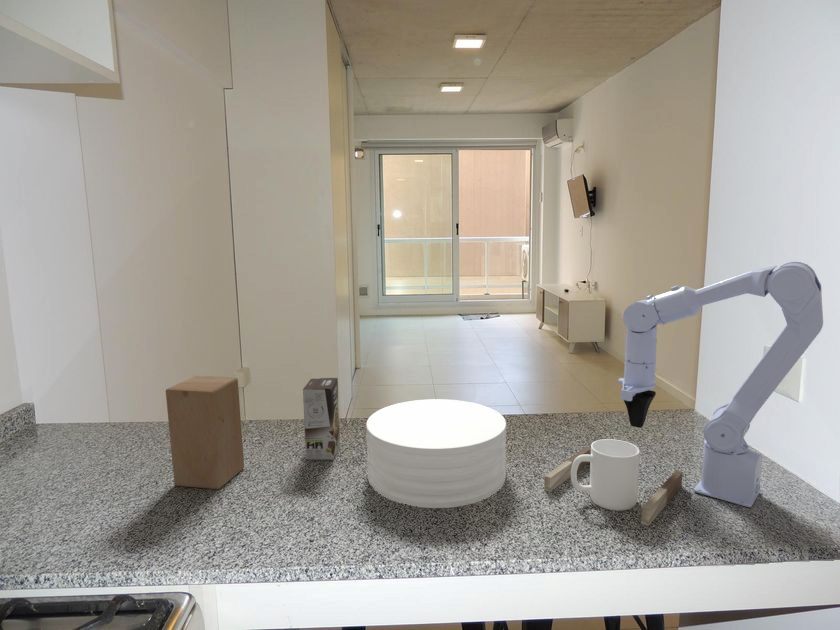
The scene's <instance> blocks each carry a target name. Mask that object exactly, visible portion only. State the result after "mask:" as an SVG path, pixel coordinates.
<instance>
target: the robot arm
mask: <svg viewBox="0 0 840 630" xmlns="http://www.w3.org/2000/svg"><path fill="white" fill-rule="evenodd" d="M777 267H778V265H773V266H768V267H763V268H757V269H753V270H749V271H747V272H744V273H741V274H739V275H736V276H732V277H730V278H727V279H724V280H721V281H718V282H715V283H712V284H710V285H706V286H704V287H701V288H698V289H695V288H692V287H690V286H687V285H683V286H680V285H679V284H677V285H674V286H671V287H670V290H669V291H667V292H666V291H665V292H663V293H660V294H657V295H654V294H649V295H647V296H646V297H645V298H646V299H642V300H638V301H635V302H633V303H631V304H630V305H628V306H627V307H626V308H625V310H624V311H623V314H622V320H623V323H624V325H625V327H626V330H625V331H626V332H625V333H626V334H625V348H624V369H623V377H619V378H618V379H617V384H621V385H622V388H621V389H620V398H619V399H620V400H621V401H623V402H624V405H625V407H626V410H627V414H628V419H629V424H630V427H635V428H640V429H641V428H642V427H643V426H644V424H645V421H646V418H647V415H648V410H649V408H650V406H651V404H652V402H653V400H654V398H655V396H656V395H657V392H656V391H654V389H656V379H657V378H656V361H657V343H658V341H657V340H658V339H657V333H658V332H657V331H658V325H662V326H664V325H666V324H670V323H674V322H677V321H681V320H683V319H687V318H690V317H693V316H694V317H695V316H696V315H698V313H700V312H699V311H700V310H701V308H702V307H703V306H706V305H709V304H713V303H717V302H721V301H723V300H724V301H725V300H728V299H732V298H734V297H738V296H742V295H746V294H749V295H753V296H759V297H762V298H765V297H766V296H767V295H768V294H769V295H770V296H771V297H772V298H773V300H774V301H775V302H776V303H777V304H778V305H779V307H780V308H781V311H782V314H783V317H784V319H785V322H786V326H785V327H784V328H782V329H783V330H781V332H780V334H779V335H778V336H777V337H776V338H775V340H774V342H773V343H772V344H771V346H770V347H769V348H768V349H767V351H766V352H765V354H764V355H763V356H762V358H761V359H760V360H759V361H758V363H757V364H756V365H755V367H754V368H753V370H751V372H750V374H749V375H748V376H747V378H746V379H745V381H744V382H743V383H742V384H741V386H740V387H739V388H738V390H737V391H736V392H735V394H734V395H732V398H730V400H729V401H728V402H727V403H726V404H724V405H722V406H719V407H718V408H717V409H715V411H714V412H713V414H712V416H711V418H710V420H708V422H707V423H705V425H704V427H703V437H704V439H703V448H702V449H703V450H702V451H703V453H702V464H701V465H702V466H701V478H700V481H699V482H698V483H697V484H696V486H695V487H694V488H693V492H694V493H697V494H701V495H704V496H708V497H711V498H714V499H719V500H722V501H725V502H729V503H733V504H736V505H739V506H743V507H747V508H752V506H753V505H754V503H755V502H756V500H757V498H758V496H759V494H760V491H761V490H760V488H761V474H762V465H763V464H762V463H763V456H762V454H761V453H758V452H755V451H753V450H751V449H749V445H748V444H747V441H746V440H745V436H746V434H747V433H748V432H749V429H750V426H751V423H752V421H753V419H754V418H755V416H756V415H757V413H758V412H759V411H760V410H761V408H762V407H763V405H764V404H765V403H766V401H767V400H768V399H769V398H770V397H771V395H772V394H773V393H774V391H775V390H776V389H777V387H778V386H779V385H780V384H781V382H782V381H783V380H784V379H785V378H786V376H788V374H789V372H790V371H791V369H793V367H794V366H795V365H796V363H797V362H798V361H799V360H800V359H801V357H802V356H803V354H804V353H805V352H806V350H807V349H808V348H809V347H810V345H811V344H812V343H813V341H814V340H815V339H816V338H817V336H818V335H819V334H820V333H821V331H822V329H823V327H824V314H823V298H822V297H823V296H822V292H823V291H822V284H821V282H820V281H819V278H818V276H817V273H816V272H815V270H814V269H813V267H811V266H810V265H809V264H807V263H804V262H801V261H790V262H789V261H788V262H786V263H784V264H782V265H780V266H779V267H778V268H777Z"/></svg>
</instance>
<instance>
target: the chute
mask: <svg viewBox="0 0 840 630" xmlns="http://www.w3.org/2000/svg"><path fill="white" fill-rule="evenodd" d="M583 454H589V455H591V446H590V447H589V446H585V447H583V449H580V451H578V452H577V453H575V454H573V456H571V457H569V458H567V460H565V461H564V462H562V463H561V464H560V465H558V466H557V467H555V468H554V469H553V470H551V471H549V472H548V473H547V474H546V475H544V490H546V491H545V492H547V491H549V492H548V493H552V492H553V491H554V490H556V489H557V488H558V487H559V486H558V485H560V484H561V483H562V484H564V483H565V482H566V481H567V480H568V478H569V477H570V478H571V468H572V464H573V462H574V460H575V458H576V457H578V456H579V455H583ZM589 464H590V463H589V462H587V461H583V462H581V463H580V464H579V466H578V469H577V471H578V472H579V471H580V470H582V469H583V468H584V467H586V466H587V465H589ZM585 465H586V466H585ZM581 468H582V469H581ZM683 473H684V472H683V471H679V470H675V471H674V472H673V473H672V474H671V475H670V476H669V477H668V479H666V481H665V482H664V483H663V484H662V485H661V486H660V487H659V489H657V490H656V491H655V492H654V493H653V494H652V496H651V497H650V498H649V499H648V500H647V501H646V502H645V503H644V504H643V505H642V507H641V516H640V517H641V520H640V521H641V522H640V524H641V525H645V526H646V527H647V526H648V527H649V526H650V525H651V524H652V523H653V521H654V520H655V519H656V518H657V516H659V514H660V513H661V512H662V511H663V509H664V508H665V507H666V506H667V505H668V504H669V503H670V501H672V499H673V498H674V497H675V496H676V494H677V493H678V492H679V491H680V490H681V489H682V488H683V475H684V474H683ZM570 478H569V479H570ZM564 481H565V482H564ZM562 484H561V485H562ZM561 485H560V486H561ZM557 486H558V487H557ZM556 487H557V488H556ZM555 488H556V489H555ZM553 489H554V490H553ZM544 490H543V491H544ZM552 490H553V491H552ZM551 491H552V492H551Z"/></svg>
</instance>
